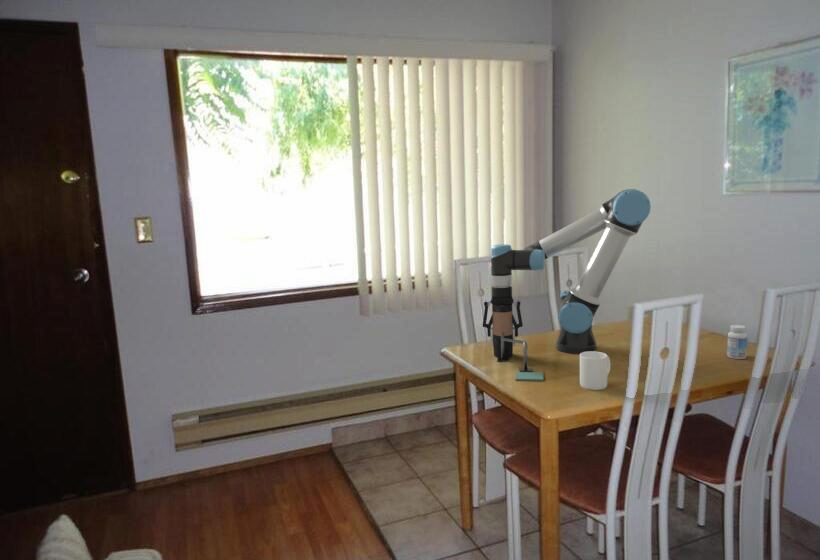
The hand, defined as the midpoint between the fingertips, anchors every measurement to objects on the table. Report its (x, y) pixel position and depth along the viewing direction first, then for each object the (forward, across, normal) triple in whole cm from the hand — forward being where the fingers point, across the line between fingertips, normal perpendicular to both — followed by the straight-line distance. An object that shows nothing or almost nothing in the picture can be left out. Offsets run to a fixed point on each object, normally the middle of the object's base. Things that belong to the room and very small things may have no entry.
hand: (502, 344), depth 212 cm
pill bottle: (+4, -82, 0) cm, 82 cm away
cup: (+4, -30, +31) cm, 43 cm away
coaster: (+4, -9, +25) cm, 27 cm away
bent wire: (+4, -4, +12) cm, 13 cm away
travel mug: (+4, 0, 0) cm, 4 cm away
